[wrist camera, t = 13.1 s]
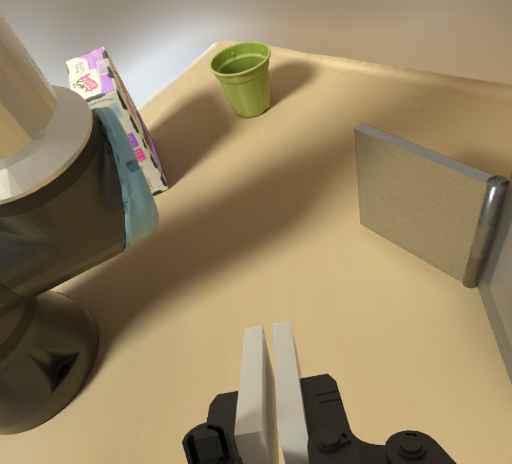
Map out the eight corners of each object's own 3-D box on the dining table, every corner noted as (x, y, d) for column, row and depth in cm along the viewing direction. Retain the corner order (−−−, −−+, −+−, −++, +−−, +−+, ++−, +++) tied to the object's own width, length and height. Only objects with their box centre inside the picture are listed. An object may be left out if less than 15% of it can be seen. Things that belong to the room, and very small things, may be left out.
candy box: (170, 189, 61) (117, 88, 49) (132, 206, 60) (68, 107, 48) (153, 139, 70) (104, 43, 58) (120, 153, 70) (63, 59, 57)
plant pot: (224, 97, 73) (209, 49, 67) (278, 84, 72) (268, 34, 65) (225, 130, 67) (208, 80, 61) (283, 116, 66) (272, 65, 59)
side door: (485, 276, 40) (517, 175, 30) (473, 290, 39) (502, 192, 30) (370, 213, 48) (366, 117, 38) (358, 224, 47) (351, 129, 38)
